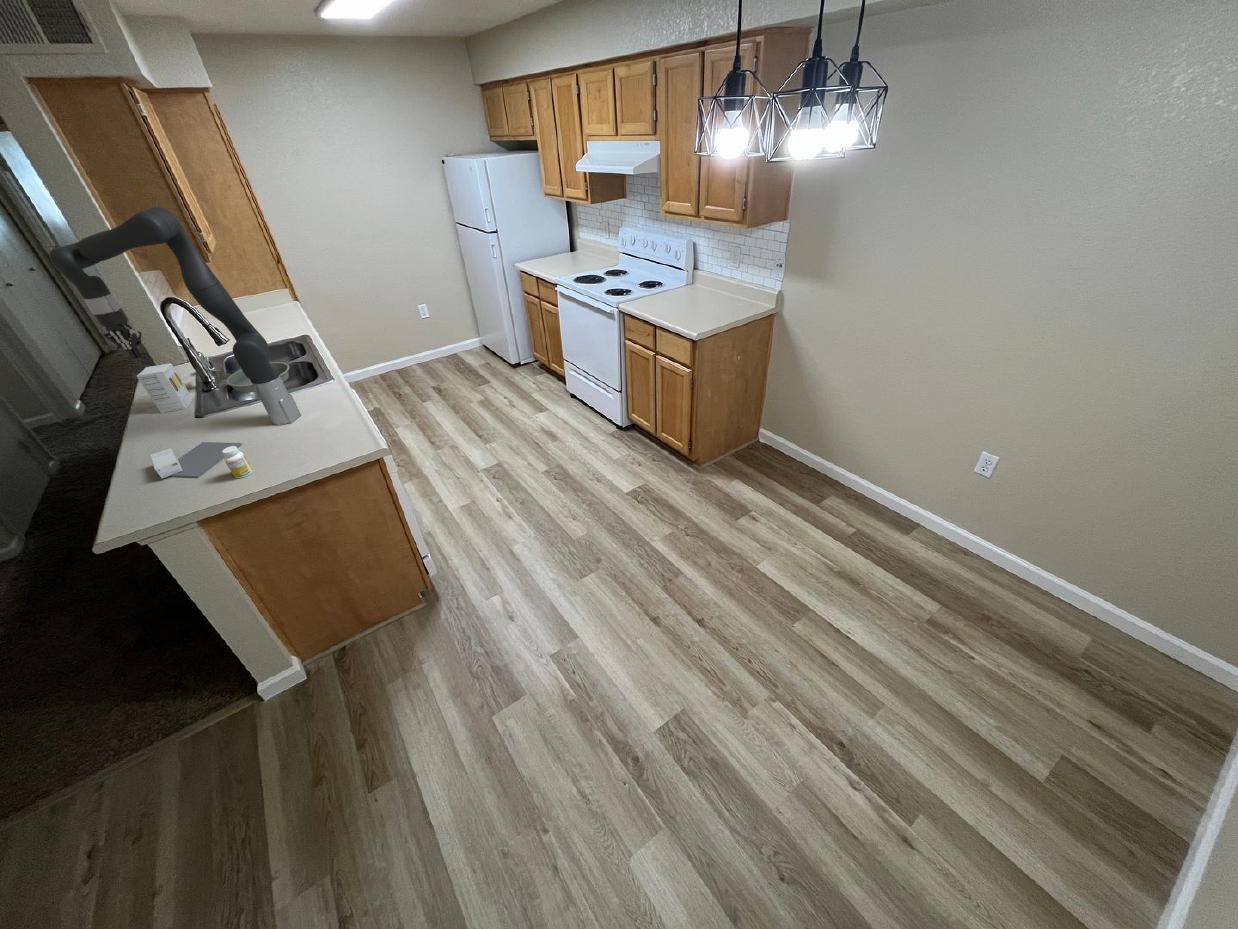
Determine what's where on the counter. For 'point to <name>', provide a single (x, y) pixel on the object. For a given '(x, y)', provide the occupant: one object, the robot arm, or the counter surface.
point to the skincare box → (166, 463)
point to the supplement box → (165, 387)
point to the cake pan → (244, 384)
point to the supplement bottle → (237, 462)
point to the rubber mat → (201, 459)
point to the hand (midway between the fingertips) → (137, 358)
